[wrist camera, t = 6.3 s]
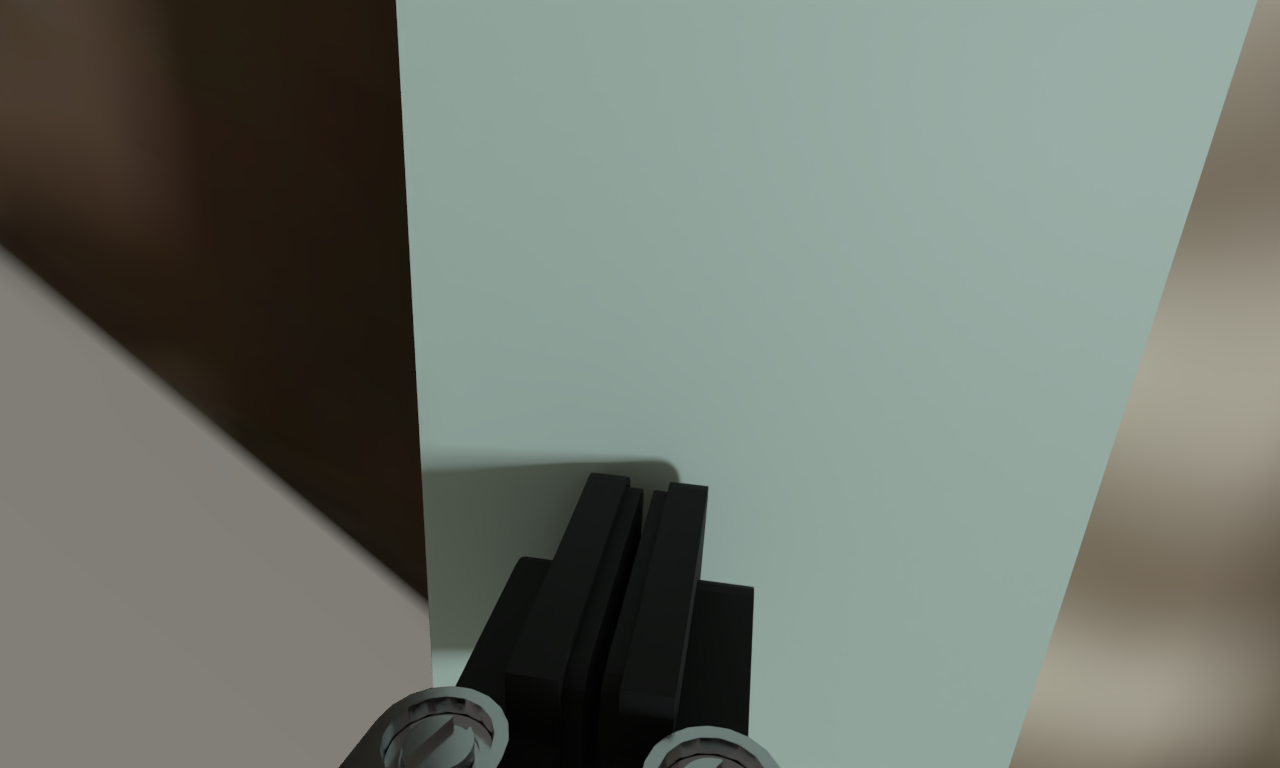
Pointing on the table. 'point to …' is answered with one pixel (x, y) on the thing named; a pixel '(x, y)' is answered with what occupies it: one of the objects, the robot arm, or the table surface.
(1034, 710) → the tray
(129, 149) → the table surface
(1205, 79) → the panel
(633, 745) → the robot arm
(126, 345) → the table surface
